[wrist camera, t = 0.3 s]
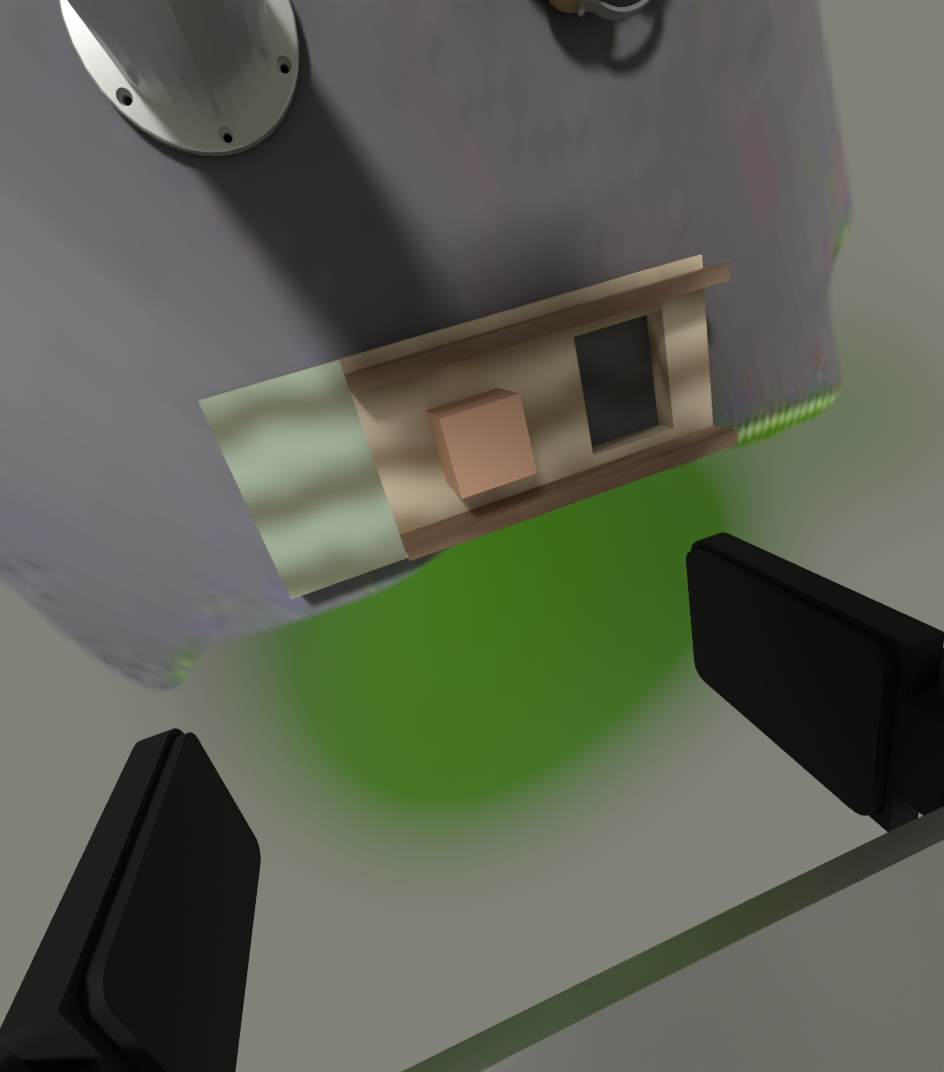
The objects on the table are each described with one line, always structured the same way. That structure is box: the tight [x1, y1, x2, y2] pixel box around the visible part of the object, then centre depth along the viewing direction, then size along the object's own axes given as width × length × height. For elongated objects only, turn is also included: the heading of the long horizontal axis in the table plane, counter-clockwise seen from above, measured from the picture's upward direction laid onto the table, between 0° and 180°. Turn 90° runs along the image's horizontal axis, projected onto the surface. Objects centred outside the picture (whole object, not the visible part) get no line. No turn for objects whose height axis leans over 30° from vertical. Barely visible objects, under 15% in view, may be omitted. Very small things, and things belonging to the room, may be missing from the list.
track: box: [198, 255, 738, 599], centre depth 42 cm, size 16×40×6 cm, turn 105°
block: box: [426, 388, 537, 499], centre depth 40 cm, size 6×6×5 cm
